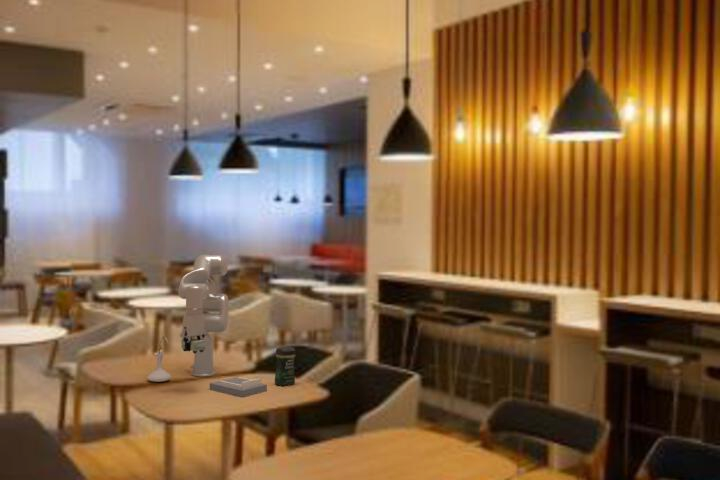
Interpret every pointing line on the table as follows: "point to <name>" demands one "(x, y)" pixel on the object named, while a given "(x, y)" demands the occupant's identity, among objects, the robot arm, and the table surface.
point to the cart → (195, 345)
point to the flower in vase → (159, 366)
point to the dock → (239, 386)
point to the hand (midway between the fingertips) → (193, 349)
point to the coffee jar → (285, 366)
